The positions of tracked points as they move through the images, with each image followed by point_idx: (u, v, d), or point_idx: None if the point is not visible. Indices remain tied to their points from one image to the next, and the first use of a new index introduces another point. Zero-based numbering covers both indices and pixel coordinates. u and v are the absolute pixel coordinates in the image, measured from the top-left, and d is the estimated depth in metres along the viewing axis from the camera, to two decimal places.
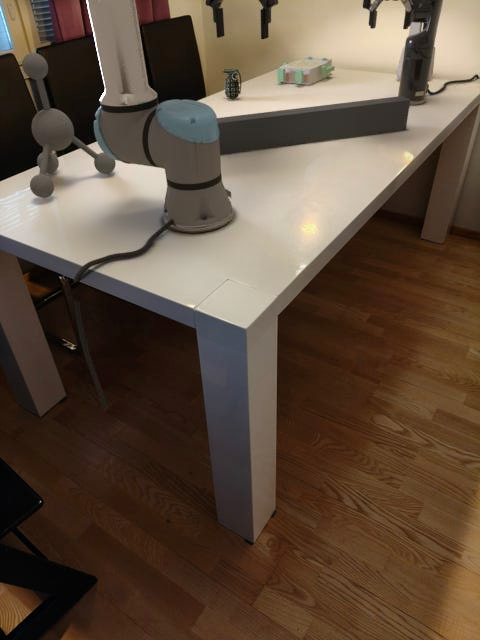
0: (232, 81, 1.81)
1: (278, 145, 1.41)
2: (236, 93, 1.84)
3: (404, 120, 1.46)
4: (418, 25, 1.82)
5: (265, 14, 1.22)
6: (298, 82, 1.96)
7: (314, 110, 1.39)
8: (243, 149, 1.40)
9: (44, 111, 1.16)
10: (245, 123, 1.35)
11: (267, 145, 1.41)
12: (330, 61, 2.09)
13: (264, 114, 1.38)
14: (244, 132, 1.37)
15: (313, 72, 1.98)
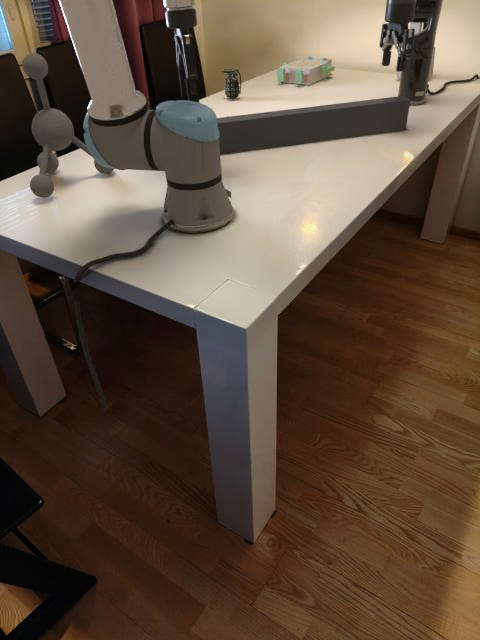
0: (232, 81, 1.81)
1: (278, 145, 1.41)
2: (236, 93, 1.84)
3: (404, 120, 1.46)
4: (418, 25, 1.82)
5: (189, 86, 1.22)
6: (298, 82, 1.96)
7: (314, 110, 1.39)
8: (243, 149, 1.40)
9: (44, 111, 1.16)
10: (245, 123, 1.35)
11: (267, 145, 1.41)
12: (330, 61, 2.09)
13: (264, 114, 1.38)
14: (244, 132, 1.37)
15: (313, 72, 1.98)
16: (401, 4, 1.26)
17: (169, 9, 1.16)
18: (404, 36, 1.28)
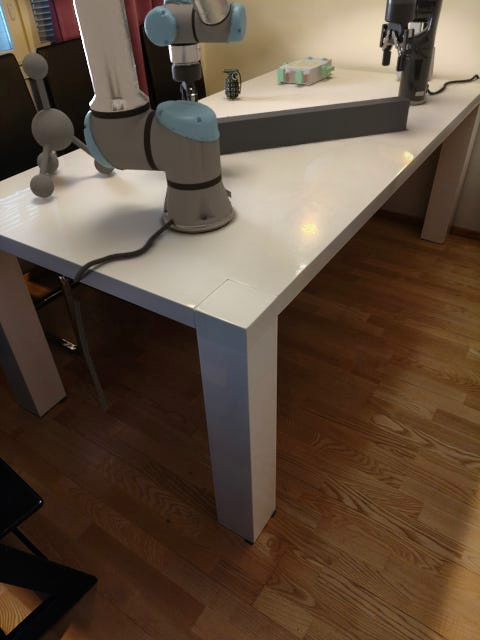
0: (232, 81, 1.81)
1: (278, 145, 1.41)
2: (236, 93, 1.84)
3: (404, 120, 1.46)
4: (418, 25, 1.82)
5: None
6: (298, 82, 1.96)
7: (314, 110, 1.39)
8: (243, 149, 1.40)
9: (44, 111, 1.16)
10: (245, 123, 1.35)
11: (267, 145, 1.41)
12: (330, 61, 2.09)
13: (264, 114, 1.38)
14: (244, 132, 1.37)
15: (313, 72, 1.98)
16: (401, 4, 1.26)
17: (175, 64, 1.23)
18: (404, 36, 1.28)
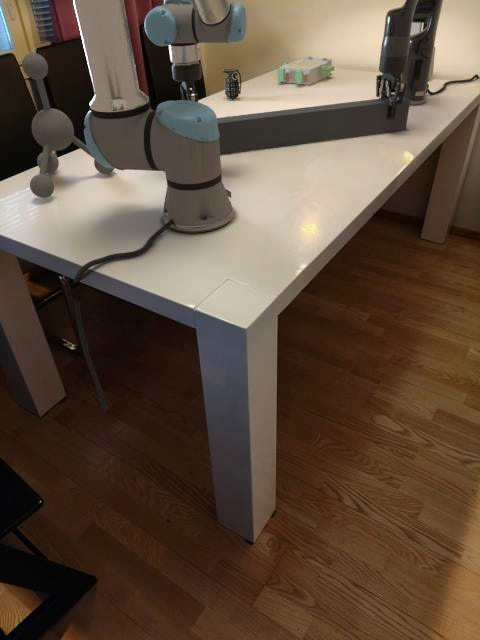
0: (232, 81, 1.81)
1: (278, 145, 1.41)
2: (236, 93, 1.84)
3: (404, 119, 1.46)
4: (418, 25, 1.82)
5: None
6: (298, 82, 1.96)
7: (314, 110, 1.39)
8: (243, 149, 1.40)
9: (44, 111, 1.16)
10: (245, 123, 1.35)
11: (267, 145, 1.41)
12: (330, 61, 2.09)
13: (264, 114, 1.38)
14: (244, 132, 1.37)
15: (313, 72, 1.98)
16: (394, 57, 1.34)
17: (175, 64, 1.23)
18: (396, 89, 1.36)
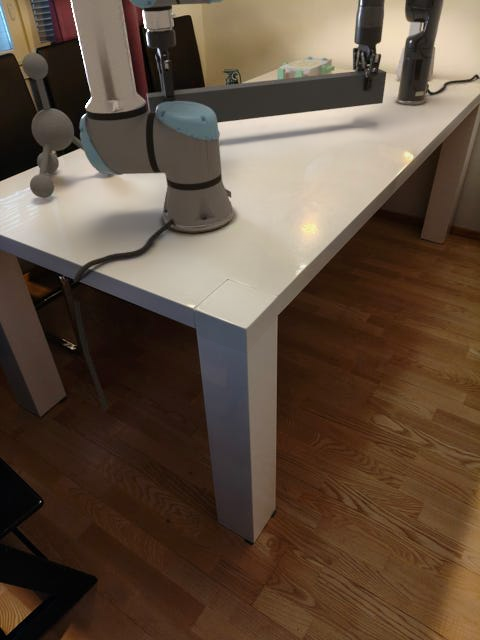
0: (232, 81, 1.81)
1: (254, 116, 1.42)
2: None
3: (380, 92, 1.47)
4: (418, 25, 1.82)
5: None
6: None
7: (290, 81, 1.39)
8: (219, 120, 1.40)
9: (44, 111, 1.16)
10: (221, 93, 1.36)
11: (243, 117, 1.41)
12: (330, 61, 2.09)
13: (240, 85, 1.38)
14: (220, 102, 1.37)
15: (313, 72, 1.98)
16: (368, 28, 1.34)
17: (149, 30, 1.24)
18: (371, 60, 1.37)
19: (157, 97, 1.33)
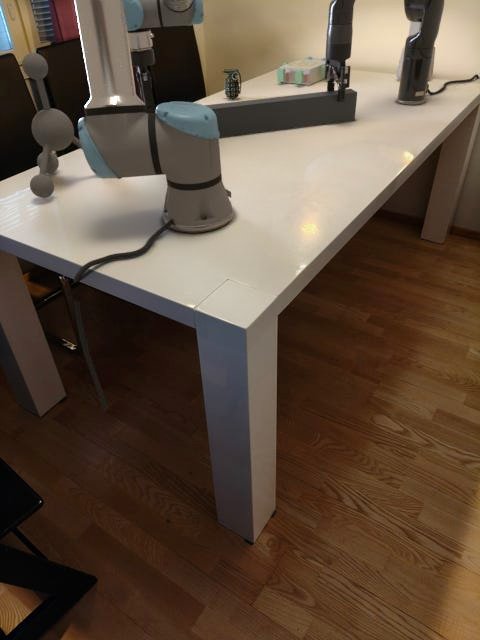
0: (232, 81, 1.81)
1: (233, 134, 1.51)
2: (236, 93, 1.84)
3: (352, 111, 1.56)
4: (418, 25, 1.82)
5: None
6: (298, 82, 1.96)
7: (266, 101, 1.49)
8: None
9: (44, 111, 1.16)
10: None
11: (222, 134, 1.50)
12: None
13: (219, 105, 1.48)
14: None
15: (313, 72, 1.98)
16: (338, 44, 1.42)
17: None
18: (341, 72, 1.44)
19: None
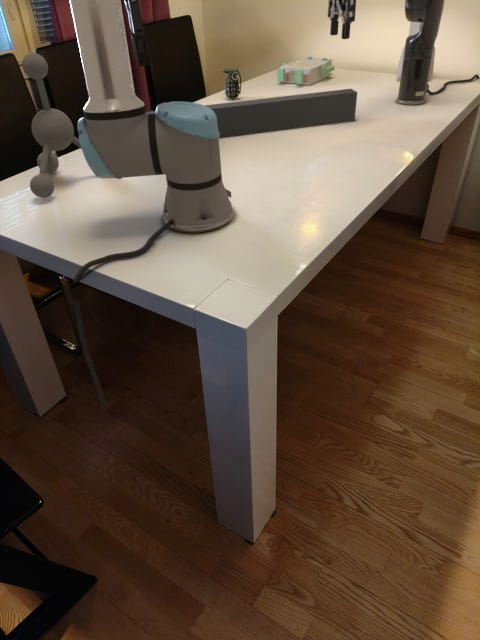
0: (232, 81, 1.81)
1: (233, 134, 1.51)
2: (236, 93, 1.84)
3: (352, 111, 1.56)
4: (418, 25, 1.82)
5: (137, 43, 1.26)
6: (298, 82, 1.96)
7: (266, 101, 1.49)
8: None
9: (44, 111, 1.16)
10: None
11: (222, 134, 1.50)
12: (330, 61, 2.09)
13: (219, 105, 1.48)
14: None
15: (313, 72, 1.98)
16: None
17: None
18: (346, 3, 1.34)
19: None
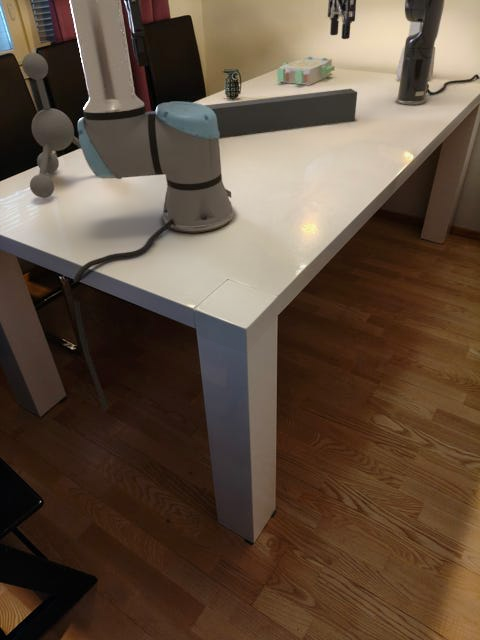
0: (232, 81, 1.81)
1: (233, 134, 1.51)
2: (236, 93, 1.84)
3: (352, 111, 1.56)
4: (418, 25, 1.82)
5: (137, 43, 1.26)
6: (298, 82, 1.96)
7: (266, 101, 1.49)
8: None
9: (44, 111, 1.16)
10: None
11: (222, 134, 1.50)
12: (330, 61, 2.09)
13: (219, 105, 1.48)
14: None
15: (313, 72, 1.98)
16: None
17: None
18: (346, 3, 1.34)
19: None
